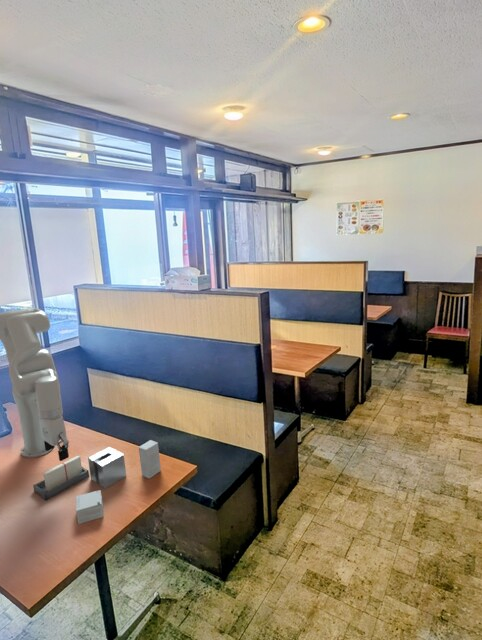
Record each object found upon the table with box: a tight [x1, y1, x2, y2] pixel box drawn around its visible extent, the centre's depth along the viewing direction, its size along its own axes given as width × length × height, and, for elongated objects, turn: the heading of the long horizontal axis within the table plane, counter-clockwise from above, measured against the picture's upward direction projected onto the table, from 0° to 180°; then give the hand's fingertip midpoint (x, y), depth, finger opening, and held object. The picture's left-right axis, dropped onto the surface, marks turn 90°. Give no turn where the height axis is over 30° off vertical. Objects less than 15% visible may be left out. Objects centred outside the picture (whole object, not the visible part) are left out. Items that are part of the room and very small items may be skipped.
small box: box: [75, 490, 105, 525], centre depth 127 cm, size 8×8×5 cm
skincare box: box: [138, 439, 162, 480], centre depth 146 cm, size 6×4×12 cm
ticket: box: [42, 455, 83, 491], centre depth 142 cm, size 2×13×7 cm, turn 142°
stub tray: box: [33, 466, 90, 501], centre depth 143 cm, size 8×16×2 cm, turn 142°
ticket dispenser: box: [87, 446, 127, 489], centre depth 144 cm, size 9×9×9 cm
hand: (57, 454), depth 141 cm, fingers open, 9 cm apart
